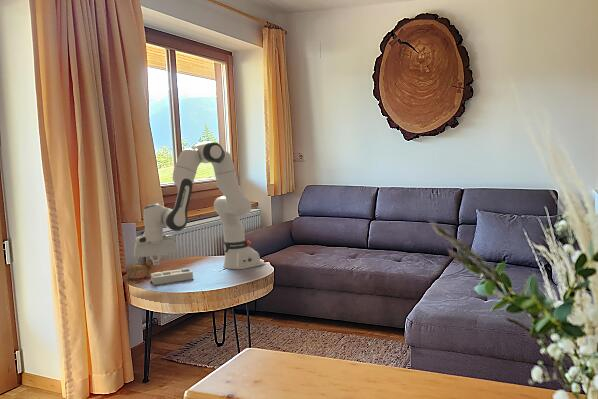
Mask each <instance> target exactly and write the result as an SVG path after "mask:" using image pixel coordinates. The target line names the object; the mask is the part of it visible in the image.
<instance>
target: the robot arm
mask: <svg viewBox="0 0 598 399" xmlns="http://www.w3.org/2000/svg"><path fill="white" fill-rule="evenodd" d="M201 163H204V164H209V163H211V165H212V167H213V171H214V178H215V180H216V185H217V189H219V191H221V193H222V194H223V195H222V196H218V197H217V198H215V200H214V202H213V209H214V211H215V212H216V213H217V215H218V216H219V217H218V218H219V219H220V221H221V224H222V229H223V237H224V241H223V250H224V260H223V268H224V269H228V270H229V269H230V270H245V269H249V268H254V267H257V266H258V267H260V266H263V265H265V261H264V260H262V259H261V258H260V254H259V252H258V251H256V250H255V249H254V248H252V247H251V246H250V245H251V244H252V242H251V241H250V240H246V239H245V227H244V224H243V223H242V222H241V220H240V218H239V217H244V216H247V215H248V214H250V213H251V210H252V203H251V201H250V199H249V198H247V196H245V194H244V193H243V192H244V191H243V190H242V189H241V186H240V184H239V181H238V177H237V172H236V168H235V164H234V161H233V159H232V155H231V154H230V152H228V151H226V150H224V149H223V147H222V146H221V144H220V143H218V142H216V141H203V142H202V141H201V142H197V143H195V144H193V146H191V147H190V148H184V149H183V150H182V151H181V152H180V154H179V155H178V157H177V160H176V162H175V165H174V169H173V172H172V180H173V183H174V184H175V186H176V188H177V196H176V200H175V204H174V207H173V209H172V208H169V207H165V206H163V205H161V204H160V203H152V204H147V205H146V206H144V209H143V216H142V217H143V224H144V231H143V234H141V235H138V236H136V237H135V243H134V245H133V257H134V258H137V259H140V258H147V257H149V259H151V260H152V261H153V265H154V266H155V265H160V260H161V258H162V256H164V255H171V254H172V255H173V254H176V252H177V247H176V240H177V239H176V236H175V235H172V234H168V235H164V229H165V228H166V229H170V230H171V231H173V232H174V231H175V232H180V231H182V230H184V229H185V227H186V226H187V224H188V219H189V217H188V210H189V209H188V208H189V204H190V200H191V196H192V191H193V186H194V181H195V177H196V174H197V172H198V168H199V166H200V164H201ZM155 256H156V257H158V258H157V259H156V260H155V259H154V257H155ZM153 259H154V260H153Z"/></svg>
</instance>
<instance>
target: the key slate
mask: <svg viewBox="0 0 598 399" xmlns="http://www.w3.org/2000/svg"><path fill="white" fill-rule="evenodd" d="M188 268H189V267H184V268H183V267H182V268H180V269H181V271H182V272H186V271H189V269H190V268H189V269H188Z"/></svg>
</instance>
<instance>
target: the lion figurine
mask: <svg viewBox="0 0 598 399" xmlns="http://www.w3.org/2000/svg"><path fill="white" fill-rule="evenodd" d="M153 260H154V261H155V259H154V258H153ZM154 267H155V265H153V261H152V260H151V258H148V259H147V260H146V261H145V262H143V264H141V265H140V264H139V265H138V264H133V265H132V266H131V267H130V269H129V272H128V274H129V275H128V276H127V279H130V278H131V279H132V278H133V276H134V278H135V279H139V277H138V276H137V272H139V273H144V272H145V276H146V277H148V278H151V274H150V271H152V270H153V268H154ZM132 275H133V276H132Z"/></svg>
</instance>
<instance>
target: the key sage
mask: <svg viewBox="0 0 598 399" xmlns="http://www.w3.org/2000/svg"><path fill="white" fill-rule="evenodd" d="M170 271H171V270H163V271H162V272H163V275H166V274H171V272H170Z"/></svg>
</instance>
